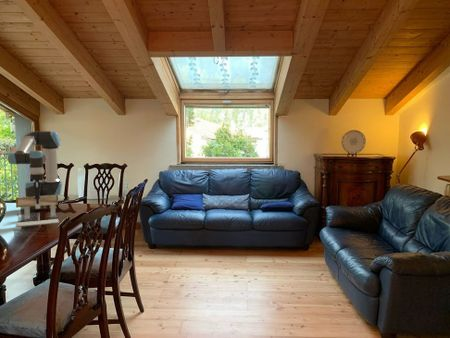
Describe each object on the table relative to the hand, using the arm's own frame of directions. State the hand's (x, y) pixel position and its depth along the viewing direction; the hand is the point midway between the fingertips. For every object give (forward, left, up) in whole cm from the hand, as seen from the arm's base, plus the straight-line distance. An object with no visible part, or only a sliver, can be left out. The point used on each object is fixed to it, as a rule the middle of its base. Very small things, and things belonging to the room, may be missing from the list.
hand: (37, 207), depth 210 cm
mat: (0, 0, -11) cm, 11 cm away
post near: (-13, -7, -11) cm, 18 cm away
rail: (0, 0, +2) cm, 2 cm away
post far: (-13, +9, -11) cm, 19 cm away
